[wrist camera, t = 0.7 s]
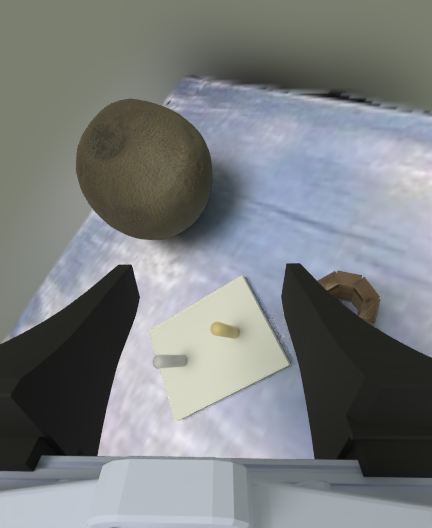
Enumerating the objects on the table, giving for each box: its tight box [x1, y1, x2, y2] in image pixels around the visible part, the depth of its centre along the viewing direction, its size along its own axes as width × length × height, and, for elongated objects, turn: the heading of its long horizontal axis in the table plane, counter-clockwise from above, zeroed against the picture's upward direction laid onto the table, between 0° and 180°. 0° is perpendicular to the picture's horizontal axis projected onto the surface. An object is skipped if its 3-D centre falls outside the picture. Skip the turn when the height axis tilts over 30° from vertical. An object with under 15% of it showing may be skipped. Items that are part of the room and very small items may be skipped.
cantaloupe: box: [76, 99, 212, 240], centre depth 30 cm, size 14×14×15 cm
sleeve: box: [318, 271, 380, 326], centre depth 23 cm, size 5×5×6 cm
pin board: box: [148, 275, 291, 422], centre depth 27 cm, size 10×13×6 cm
